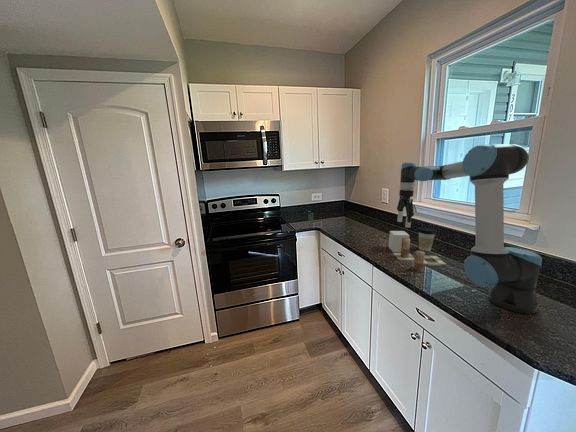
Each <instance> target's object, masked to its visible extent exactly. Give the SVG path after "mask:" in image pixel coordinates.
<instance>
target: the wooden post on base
mask: <svg viewBox="0 0 576 432" xmlns="http://www.w3.org/2000/svg"><path fill="white" fill-rule="evenodd" d="M410 245H411V238H410V237H409V238H402V245H401V252H392V254H393V255H394V257H395V258H397V259H398V261H414V258H415V257H414V256H413V255H412V254H411V253H410Z"/></svg>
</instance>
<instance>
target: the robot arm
mask: <svg viewBox="0 0 576 432" xmlns="http://www.w3.org/2000/svg"><path fill="white" fill-rule="evenodd" d="M529 160H530V156H529V153H528V150H526V148H524V147H523V146H521V145H518V144H515V143H507V144H506V143H505V144H504V143H486V144H479V145H475V146H473V147H472V148H470V149H469V150H468V151H467V153H466V154H465V155H464V157H463V159H462V161H458V162H453V163H449V164H445V165H444V164H443V165H437V166H435V165H433V166H432V165H431V166H429V165H428V166H426V165H425V166H417V164H416V162H403V163H402V164H401V167H400V168H401V169H400V180H399V181H400V182H399V193H398V194H399V200H398V204H397V207H396V210H397V223H402V222H403V216H404V208H405V211H406V212H405V213H406V215H405V226H404V227H405V228H406V229H407V228H411V225H412V218H413V217H414V216H415V215H414V205H413V199H412V197H413V196H414V189H415V186H416V184H415V182H416V181H418V182H428V181H447V180H451V179H455V178H463V177H464V178H465V177H469V182H470V183H471V184H473V186H474V217H475V218H474V221H475V222H474V223H475V224H474V226H475V227H474V229H475V233H474V234H475V245H474V246H473V247H472V248H471V249H470V255H469V256H467V257H466V259H465V258H464V261H463V269H464V272H465V273H466V276H467V277H468V278H469V279H470V280H471V281H472V282H473V283H475V284H477V285H479V286H483V287H484V286H486V287H487V286H490V287H491V288H490V290H489V292H488V300H489V301H490V302H492V303H493V305H496V306H498V307H500V308H502V309H504V310H507V311H509V310H510V311H509V312H513V311H514V312H513V313H517V312H519V313H518V314H523V313H525V314H524V315H528V314H529V315H533V314H535V313H537V311H538V308H539V304H538V300H537V295H536V288H537V284H538V279H539V276H540V272H541V269H542V266H543V265H542V262H543V258H542V255H540V254H538V253H536V252H533V251H531V250H527V249H521V248H519V247H513V246H505V232H504V231H505V227H504V225H505V224H504V222H505V218H504V207H505V205H504V200H505V199H504V195H505V194H504V185H505V183H506V181H508V180H509V178H510V177H509V176H510V175H513V174H516V173H519V172H520V171H522V170H524V168H525V167H527V164H528V162H529Z"/></svg>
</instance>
